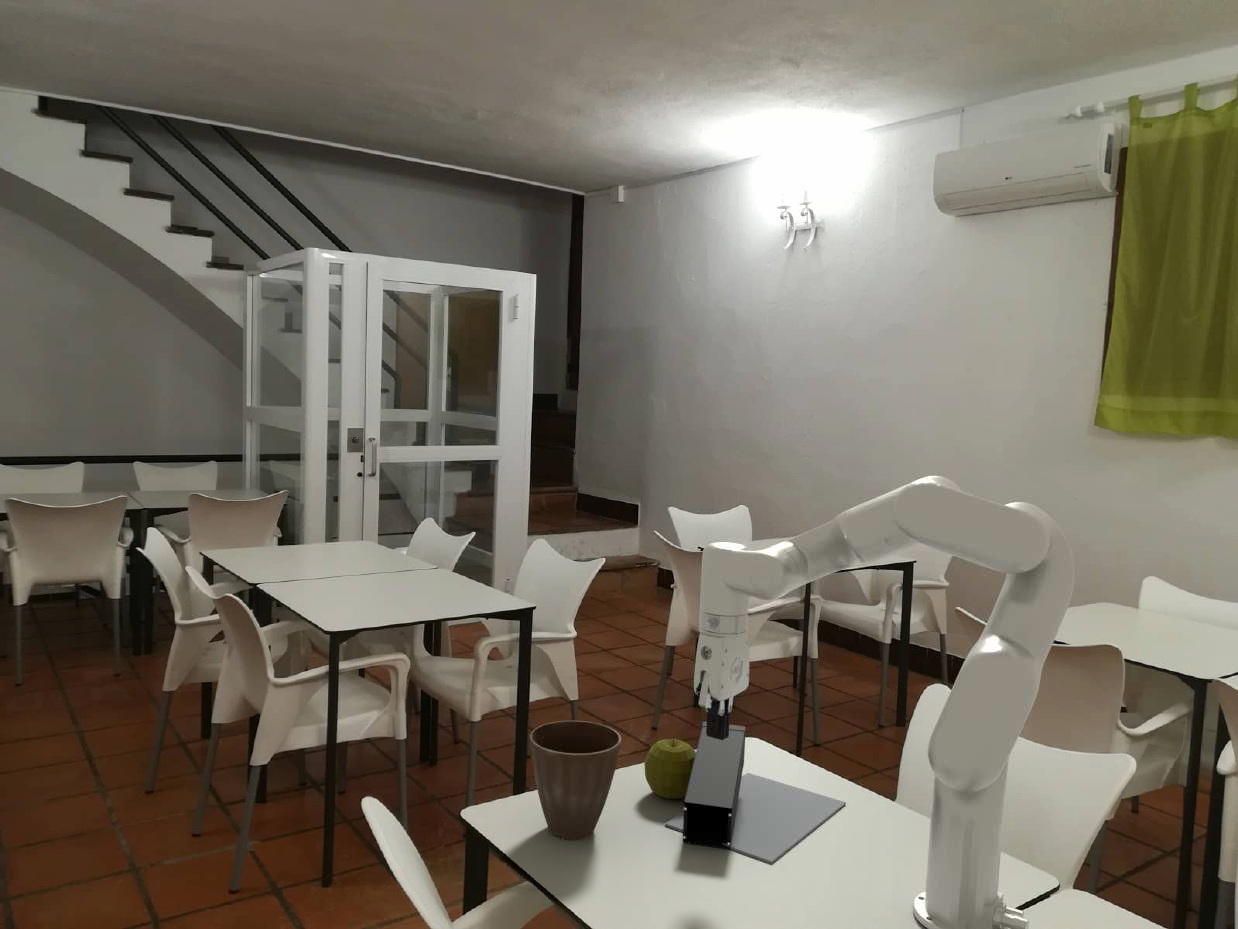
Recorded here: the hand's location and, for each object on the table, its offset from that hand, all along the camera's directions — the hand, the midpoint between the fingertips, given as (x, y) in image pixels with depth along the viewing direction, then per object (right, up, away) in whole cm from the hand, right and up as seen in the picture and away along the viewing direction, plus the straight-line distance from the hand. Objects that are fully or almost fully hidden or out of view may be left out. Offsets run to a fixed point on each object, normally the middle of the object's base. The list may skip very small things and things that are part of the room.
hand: (717, 736), depth 152 cm
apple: (-6, -17, +23) cm, 29 cm away
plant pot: (-23, -18, +7) cm, 30 cm away
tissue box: (-1, -15, +2) cm, 15 cm away
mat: (+9, -18, +16) cm, 26 cm away
